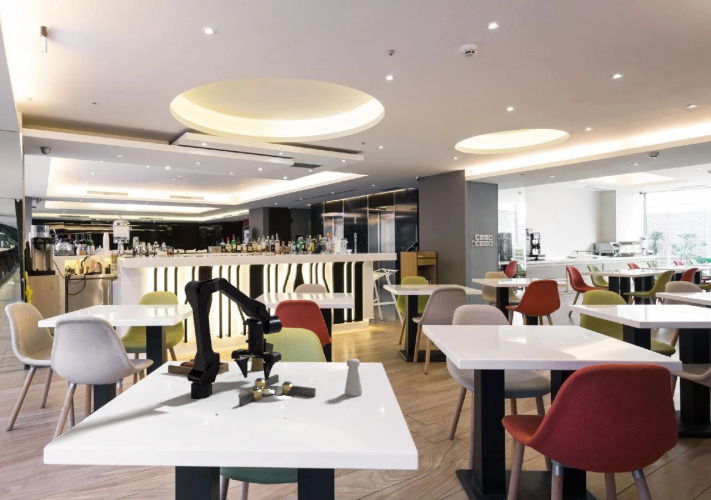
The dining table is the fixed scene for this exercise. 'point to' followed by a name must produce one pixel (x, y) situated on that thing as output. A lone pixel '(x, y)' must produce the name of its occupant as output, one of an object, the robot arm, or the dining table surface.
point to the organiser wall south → (223, 368)
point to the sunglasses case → (188, 364)
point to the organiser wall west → (179, 369)
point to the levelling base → (262, 395)
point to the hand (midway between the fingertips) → (256, 379)
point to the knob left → (266, 381)
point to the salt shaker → (353, 378)
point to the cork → (257, 364)
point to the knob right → (297, 390)
